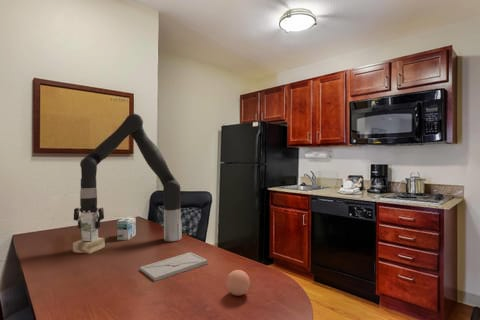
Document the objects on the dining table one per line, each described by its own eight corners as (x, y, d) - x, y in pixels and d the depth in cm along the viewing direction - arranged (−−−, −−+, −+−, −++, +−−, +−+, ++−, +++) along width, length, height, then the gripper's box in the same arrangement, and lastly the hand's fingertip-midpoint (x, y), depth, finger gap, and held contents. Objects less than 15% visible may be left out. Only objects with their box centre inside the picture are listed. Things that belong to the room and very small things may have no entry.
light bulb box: (128, 240, 153) (128, 221, 153) (116, 240, 153) (116, 221, 153) (136, 234, 164) (136, 217, 164) (125, 234, 164) (124, 217, 164)
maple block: (104, 247, 141) (104, 238, 141) (89, 254, 132) (89, 243, 132) (88, 246, 144) (88, 236, 144) (72, 252, 134) (72, 242, 134)
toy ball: (249, 288, 95) (249, 266, 95) (250, 300, 87) (250, 275, 87) (226, 289, 95) (226, 266, 95) (226, 300, 87) (225, 276, 87)
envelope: (140, 271, 112) (154, 282, 101) (140, 266, 112) (154, 277, 101) (190, 256, 128) (207, 264, 118) (190, 251, 128) (207, 259, 118)
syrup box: (98, 238, 140) (98, 210, 140) (91, 242, 135) (91, 213, 134) (88, 237, 141) (88, 210, 140) (80, 241, 135) (80, 212, 134)
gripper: (106, 195, 141) (106, 226, 141) (79, 195, 141) (79, 226, 141) (98, 197, 134) (98, 230, 134) (70, 197, 134) (70, 230, 134)
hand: (89, 228), depth 138 cm, fingers open, 8 cm apart
